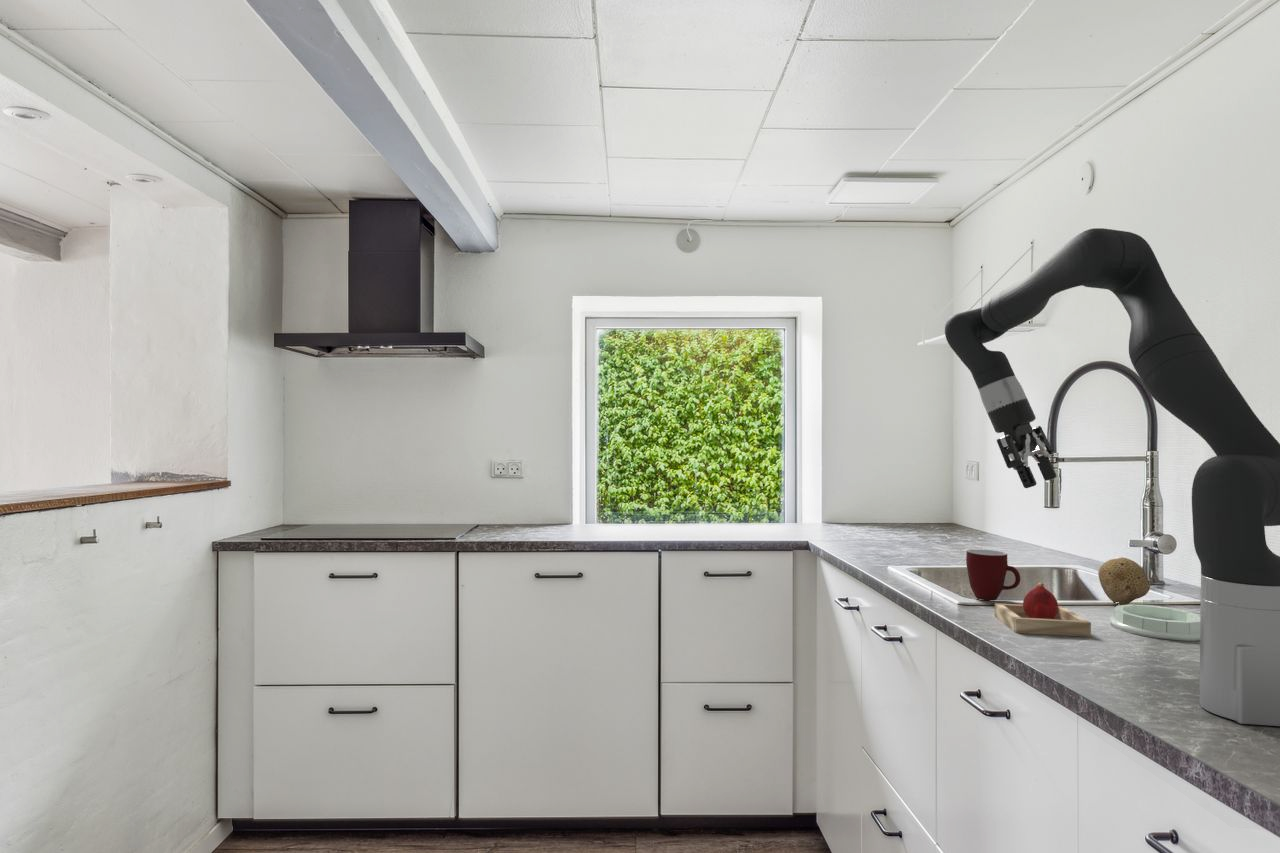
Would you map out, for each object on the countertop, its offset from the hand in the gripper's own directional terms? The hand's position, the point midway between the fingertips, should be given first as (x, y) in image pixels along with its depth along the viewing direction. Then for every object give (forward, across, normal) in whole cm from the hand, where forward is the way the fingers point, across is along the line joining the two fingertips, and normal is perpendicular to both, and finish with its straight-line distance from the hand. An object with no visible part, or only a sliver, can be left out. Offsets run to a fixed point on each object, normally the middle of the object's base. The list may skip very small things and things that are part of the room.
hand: (1041, 482), depth 143 cm
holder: (+24, -7, +8) cm, 27 cm away
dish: (+32, +9, -4) cm, 33 cm away
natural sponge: (+30, +25, +7) cm, 40 cm away
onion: (+25, -7, +8) cm, 27 cm away
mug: (+21, +8, +24) cm, 33 cm away
